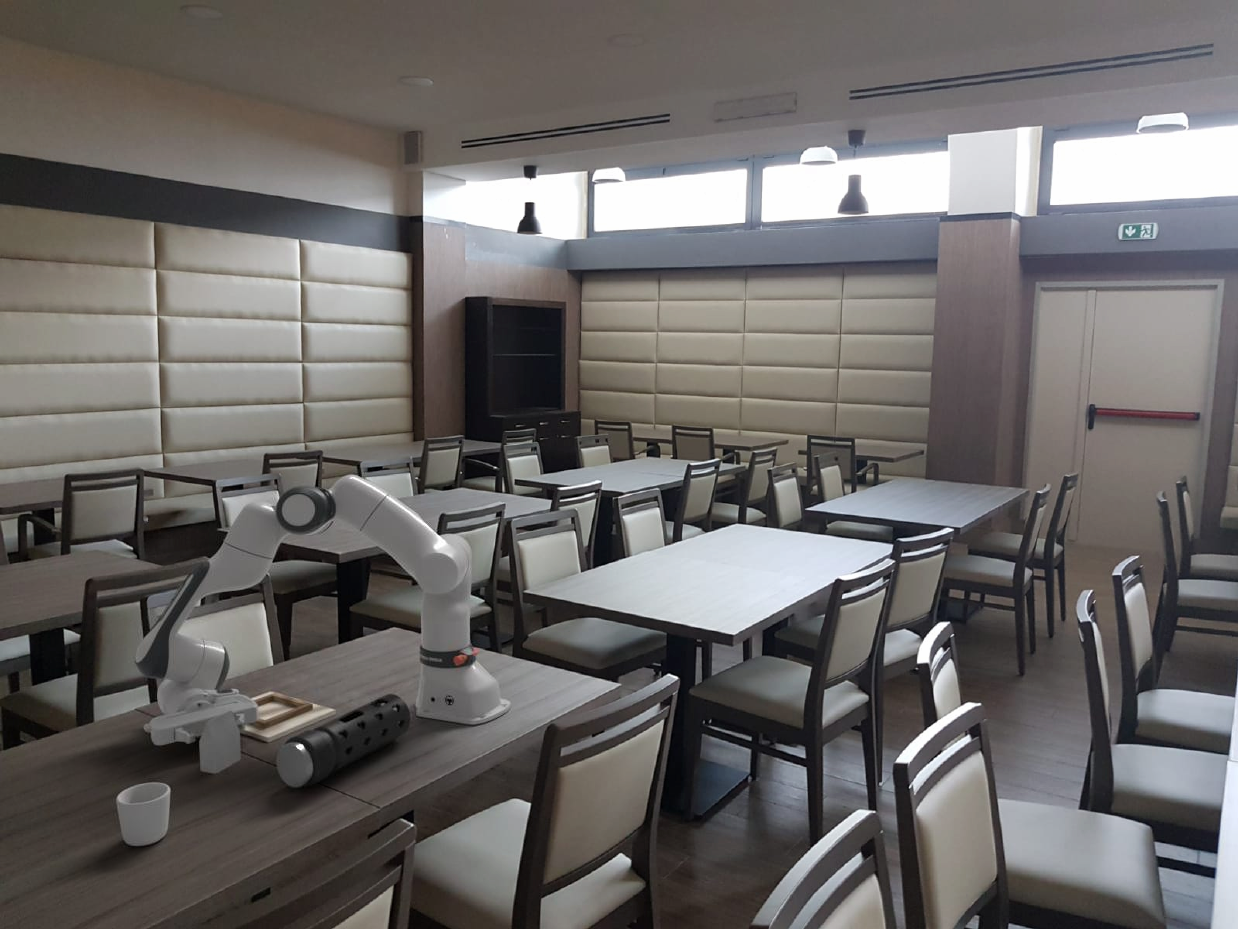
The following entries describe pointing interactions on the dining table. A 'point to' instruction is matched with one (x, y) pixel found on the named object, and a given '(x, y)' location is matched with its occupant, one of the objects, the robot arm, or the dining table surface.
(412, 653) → the dining table surface
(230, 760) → the tea bag
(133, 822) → the cup
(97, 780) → the dining table surface
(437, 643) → the robot arm
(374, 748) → the muzzle brake
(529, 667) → the dining table surface
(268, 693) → the holder
